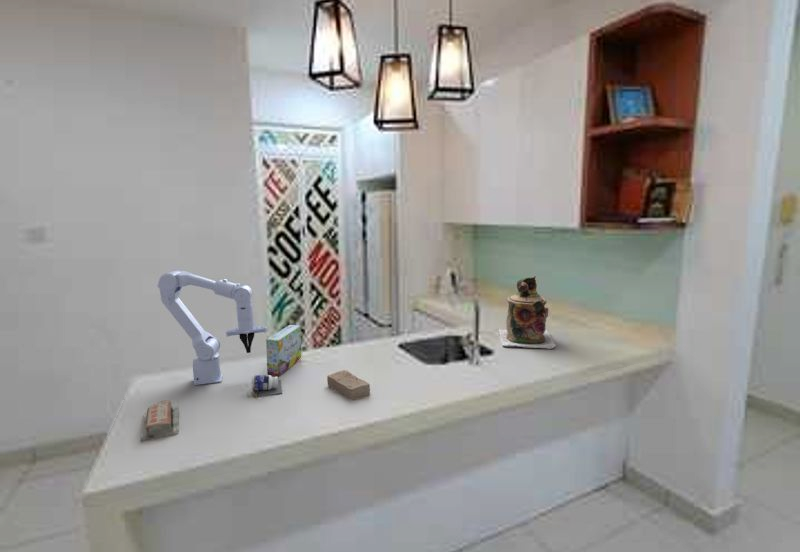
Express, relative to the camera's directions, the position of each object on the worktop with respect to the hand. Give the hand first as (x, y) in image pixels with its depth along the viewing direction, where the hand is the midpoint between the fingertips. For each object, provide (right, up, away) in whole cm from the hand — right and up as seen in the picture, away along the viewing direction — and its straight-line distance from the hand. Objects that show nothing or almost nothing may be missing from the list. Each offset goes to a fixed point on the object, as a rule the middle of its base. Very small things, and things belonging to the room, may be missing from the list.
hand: (248, 352), depth 172 cm
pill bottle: (+5, -9, -12) cm, 15 cm away
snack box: (+11, -9, +13) cm, 19 cm away
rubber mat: (+10, -12, -8) cm, 18 cm away
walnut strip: (+6, -12, -9) cm, 16 cm away
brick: (+39, -13, -9) cm, 42 cm away
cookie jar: (+118, -2, +45) cm, 127 cm away
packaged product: (-16, -17, -33) cm, 40 cm away
